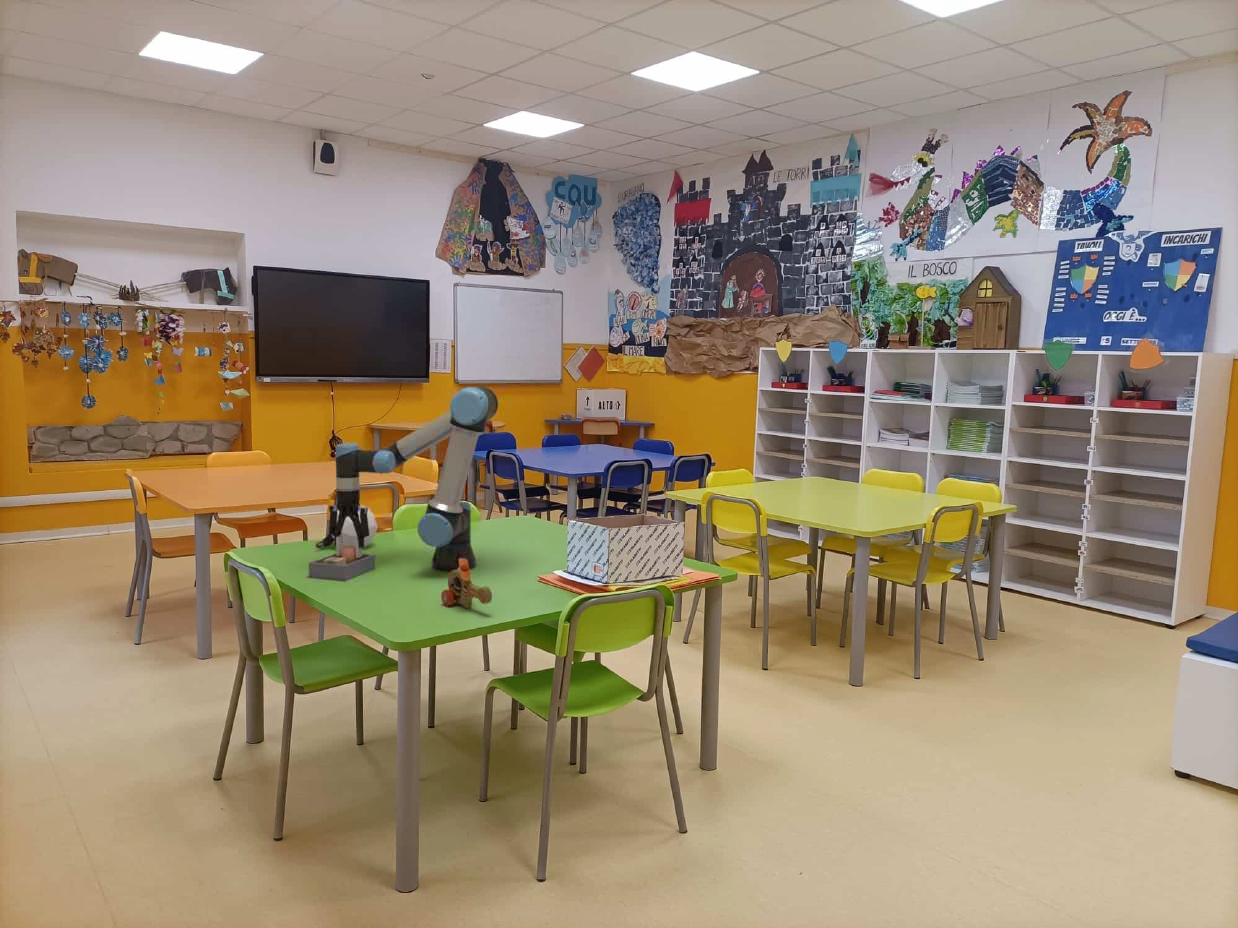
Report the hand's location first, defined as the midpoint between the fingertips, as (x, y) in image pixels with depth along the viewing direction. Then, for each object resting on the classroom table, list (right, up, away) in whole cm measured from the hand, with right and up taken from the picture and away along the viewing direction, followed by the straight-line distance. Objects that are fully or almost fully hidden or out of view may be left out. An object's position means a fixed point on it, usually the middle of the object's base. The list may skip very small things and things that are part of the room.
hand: (349, 555), depth 296 cm
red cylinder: (0, -4, 0) cm, 4 cm away
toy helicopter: (+47, -11, -41) cm, 64 cm away
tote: (-1, -5, -3) cm, 6 cm away
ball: (-12, -1, +36) cm, 38 cm away
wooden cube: (-2, -5, -7) cm, 9 cm away
